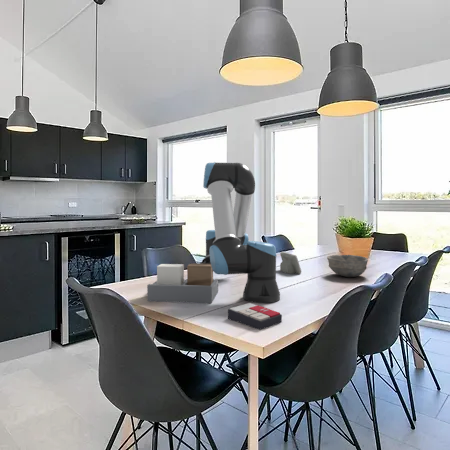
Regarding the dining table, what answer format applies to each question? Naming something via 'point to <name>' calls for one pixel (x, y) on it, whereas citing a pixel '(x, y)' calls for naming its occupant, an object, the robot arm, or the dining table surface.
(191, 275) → the brown block
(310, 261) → the dining table surface
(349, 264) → the bowl
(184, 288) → the grey tray
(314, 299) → the dining table surface
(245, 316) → the calculator
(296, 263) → the grey lumpy piece
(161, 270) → the light grey block
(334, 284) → the dining table surface
